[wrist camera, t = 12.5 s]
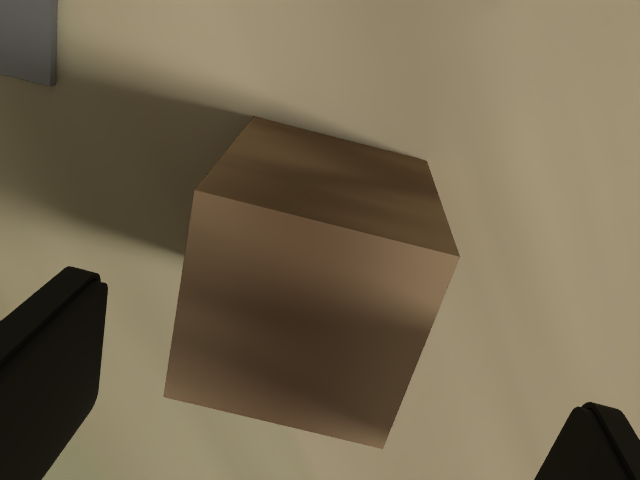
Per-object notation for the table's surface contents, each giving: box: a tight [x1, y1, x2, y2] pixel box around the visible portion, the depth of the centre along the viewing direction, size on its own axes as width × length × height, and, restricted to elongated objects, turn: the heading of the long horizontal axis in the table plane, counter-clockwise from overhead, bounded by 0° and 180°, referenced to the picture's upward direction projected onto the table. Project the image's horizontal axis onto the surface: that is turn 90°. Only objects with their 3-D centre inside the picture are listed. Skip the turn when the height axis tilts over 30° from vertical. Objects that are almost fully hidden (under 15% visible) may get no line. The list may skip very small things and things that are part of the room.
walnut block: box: [164, 117, 460, 449], centre depth 14 cm, size 5×5×6 cm
